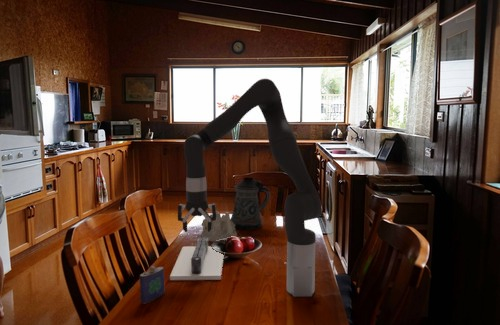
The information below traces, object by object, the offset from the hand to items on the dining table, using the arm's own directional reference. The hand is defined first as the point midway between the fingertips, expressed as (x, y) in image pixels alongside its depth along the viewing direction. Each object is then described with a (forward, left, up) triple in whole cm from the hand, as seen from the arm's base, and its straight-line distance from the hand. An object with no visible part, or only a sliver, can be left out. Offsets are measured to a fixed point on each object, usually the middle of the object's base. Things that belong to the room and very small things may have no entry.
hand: (197, 231), depth 148 cm
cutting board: (+5, 0, -15) cm, 15 cm away
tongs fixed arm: (+4, 0, -13) cm, 13 cm away
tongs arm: (+6, +1, -13) cm, 14 cm away
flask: (-23, +12, -15) cm, 30 cm away
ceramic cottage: (+38, -5, -15) cm, 41 cm away
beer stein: (+55, -20, -15) cm, 60 cm away
